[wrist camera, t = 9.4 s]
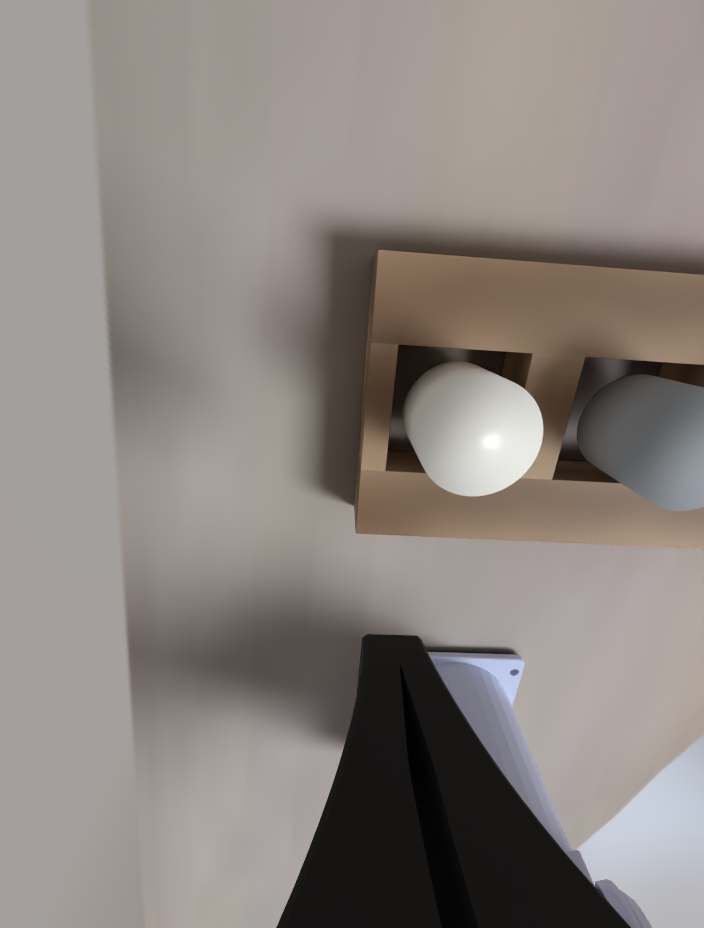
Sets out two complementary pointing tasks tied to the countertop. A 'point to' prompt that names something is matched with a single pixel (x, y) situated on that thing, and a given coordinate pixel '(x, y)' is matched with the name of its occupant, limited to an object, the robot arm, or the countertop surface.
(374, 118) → the countertop surface
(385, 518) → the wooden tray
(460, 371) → the white rounded cylinder
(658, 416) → the grey rounded piece
